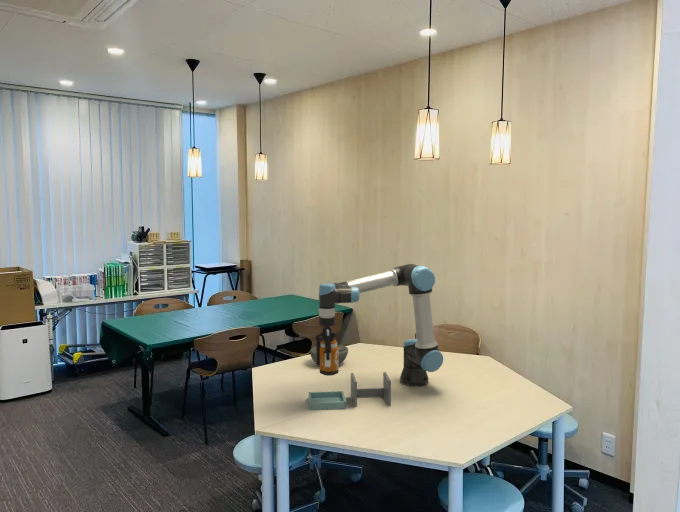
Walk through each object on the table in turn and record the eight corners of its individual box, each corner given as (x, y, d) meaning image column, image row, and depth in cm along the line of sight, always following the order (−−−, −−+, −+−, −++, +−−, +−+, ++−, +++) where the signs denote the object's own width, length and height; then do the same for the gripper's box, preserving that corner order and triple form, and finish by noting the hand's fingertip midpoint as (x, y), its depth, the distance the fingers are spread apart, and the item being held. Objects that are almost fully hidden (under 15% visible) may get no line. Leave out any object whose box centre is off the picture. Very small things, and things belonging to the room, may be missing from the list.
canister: (336, 377, 247) (336, 334, 245) (313, 375, 249) (313, 333, 247) (340, 371, 255) (340, 330, 254) (317, 369, 258) (317, 329, 256)
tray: (343, 397, 262) (343, 391, 261) (346, 408, 247) (346, 402, 246) (308, 398, 260) (308, 392, 260) (310, 409, 245) (309, 403, 245)
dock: (385, 395, 264) (385, 372, 263) (390, 405, 250) (391, 380, 249) (350, 396, 262) (350, 373, 261) (354, 407, 249) (354, 382, 247)
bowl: (314, 358, 329) (314, 342, 328) (350, 359, 326) (350, 343, 325) (306, 369, 307) (306, 352, 306) (345, 371, 303) (345, 354, 303)
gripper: (317, 312, 260) (317, 357, 262) (320, 321, 238) (320, 370, 240) (332, 311, 261) (332, 356, 263) (337, 321, 239) (336, 370, 241)
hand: (326, 363), depth 251 cm, fingers closed on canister, 9 cm apart
